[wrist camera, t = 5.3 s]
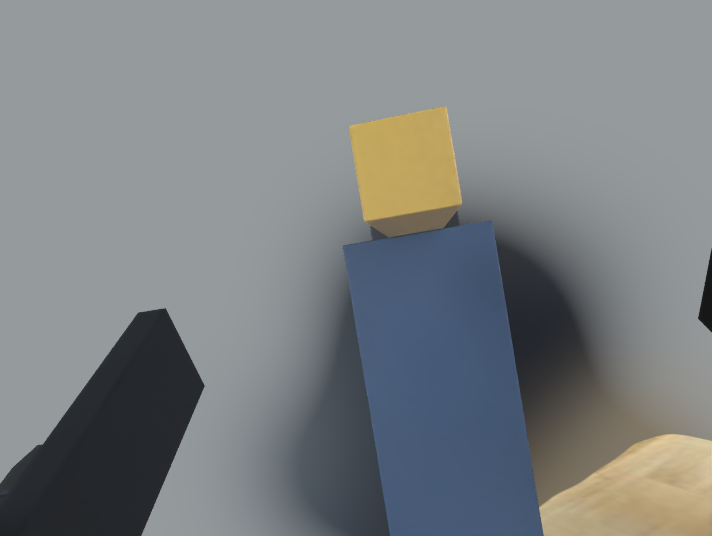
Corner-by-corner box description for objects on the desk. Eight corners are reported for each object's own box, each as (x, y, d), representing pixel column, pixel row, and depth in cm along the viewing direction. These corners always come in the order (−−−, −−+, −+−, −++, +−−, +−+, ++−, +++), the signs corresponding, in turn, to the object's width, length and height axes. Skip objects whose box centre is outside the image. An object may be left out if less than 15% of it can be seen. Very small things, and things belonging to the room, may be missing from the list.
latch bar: (462, 204, 14) (446, 105, 14) (364, 221, 14) (348, 125, 14) (435, 239, 40) (429, 204, 40) (399, 245, 40) (394, 210, 40)
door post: (585, 789, 25) (487, 191, 25) (431, 791, 26) (338, 218, 26) (531, 616, 36) (465, 213, 37) (427, 622, 38) (363, 231, 38)
